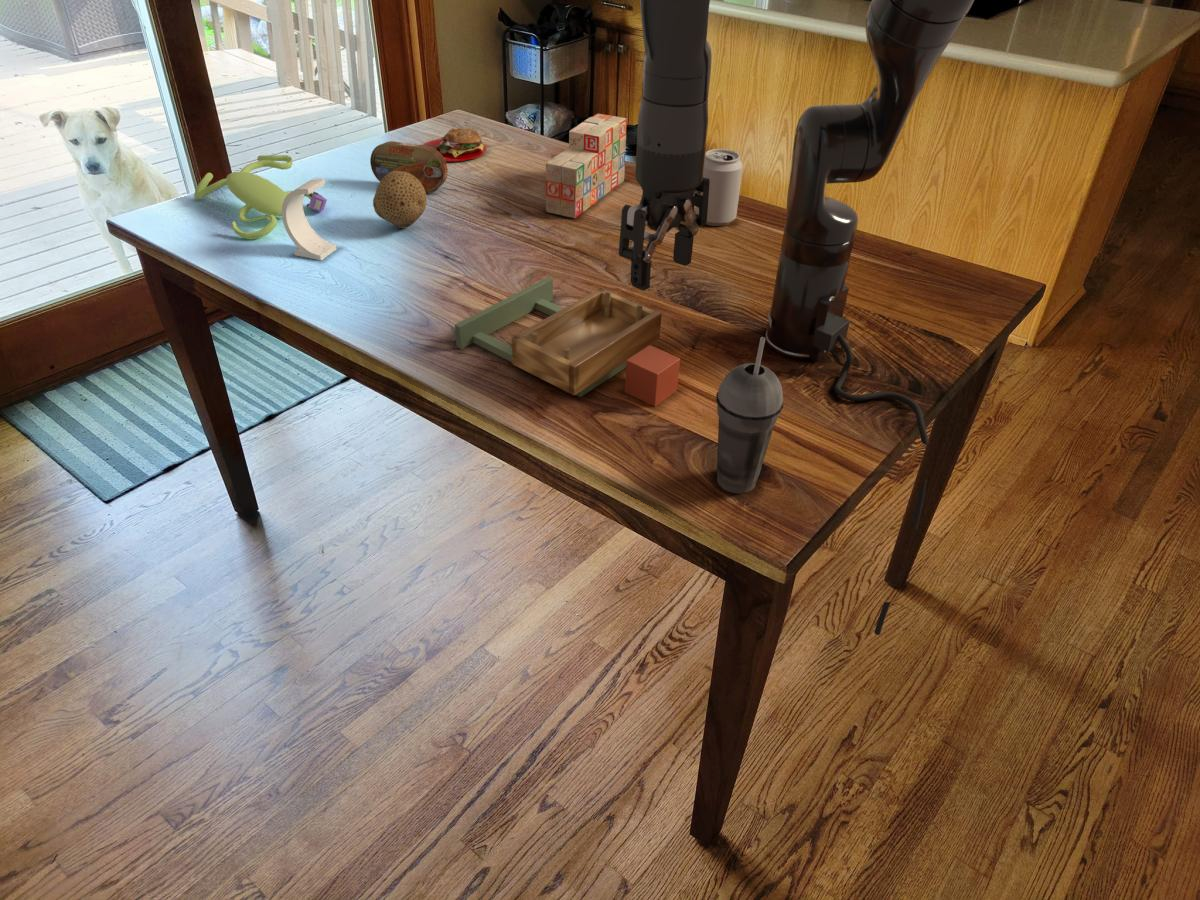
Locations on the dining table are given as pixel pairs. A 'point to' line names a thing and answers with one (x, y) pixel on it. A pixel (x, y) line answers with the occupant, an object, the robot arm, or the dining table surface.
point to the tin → (410, 163)
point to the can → (722, 185)
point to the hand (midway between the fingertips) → (661, 275)
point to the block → (652, 375)
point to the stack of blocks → (587, 166)
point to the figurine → (257, 193)
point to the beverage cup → (746, 423)
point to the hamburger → (459, 145)
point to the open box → (585, 340)
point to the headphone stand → (304, 224)
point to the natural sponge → (400, 199)
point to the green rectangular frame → (507, 312)
